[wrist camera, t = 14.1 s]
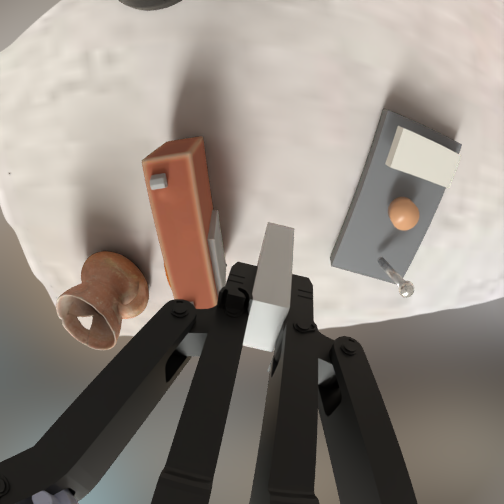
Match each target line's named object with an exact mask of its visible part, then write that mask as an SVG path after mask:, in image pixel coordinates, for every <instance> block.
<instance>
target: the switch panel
mask: <svg viewBox="0 0 504 504" xmlns="http://www.w3.org/2000/svg"><path fill="white" fill-rule="evenodd" d="M398 126H400V127H402V128H405V129H407V130H409V131H412V132H414V133H416V134H418V135H421V136H423V137H425V138H427V139H429V140H431V141H433V142H436V143H438V144H440V145H442V146H444V147H446V148H448V149H450V150H452V151H454V152H455V153H457V154H459V152H460V149H461V146H462V144H460V143H458V142H456V141H454V140H452V139H450V138H448V137H447V136H445V135H443V134H441V133H439V132H437V131H434V130H432V129H430V128H428V127H426V126H424V125H422V124H420V123H418V122H415V121H413V120H411V119H409V118H406V117H404V116H402V115H399V114H397V113H395V112H392V111H390V110H386V109H383V112H382V115H381V118H380V121H379V124H378V128H377V131H376V134H375V137H374V140H373V143H372V146H371V149H370V152H369V155H368V158H367V161H366V164H365V167H364V170H363V173H362V175H361V178H360V181H359V184H358V187H357V189H356V192H355V195H354V198H353V200H352V203H351V206H350V208H349V211H348V214H347V216H346V219H345V222H344V224H343V227H342V229H341V232H340V234H339V237H338V239H337V242H336V244H335V247H334V249H333V252H332V254H331V257H330V260H331V266H333V267H336V268H340V269H344V270H347V271H351V272H354V273H358V274H361V275H365V276H369V277H372V278H376V279H379V280H383V281H386V282H390V283H394V284H396V283H395V282H394V281H393V280H392V279H391V278H390V277H389V275H388V274H387V273H386V272H385V271H384V270H383V269H382V268H381V266H380V265H379V264H378V263H377V259H378V258H379V257H383V258H384V259H385V260H386V261H387V262H388V263H389V264H390V265H391V266H392V267H393V268H394V269H395V270H396V271H397V273H398V274H399V275H400V276H401V277H402V278H403V277H404V275H405V273H406V271H407V270H408V268H409V266H410V264H411V262H412V260H413V258H414V256H415V254H416V252H417V250H418V248H419V246H420V244H421V242H422V240H423V238H424V236H425V234H426V232H427V230H428V227H429V225H430V223H431V221H432V219H433V217H434V214H435V212H436V210H437V208H438V205H439V203H440V201H441V198H442V196H443V193H444V191H445V189H446V187H443V186H441V185H438V184H436V183H433V182H430V181H428V180H425V179H422V178H419V177H417V176H414V175H411V174H408V173H405V172H402V171H399V170H396V169H393V168H390V167H389V166H387V165H386V164H385V163H386V160H387V157H388V154H389V151H390V148H391V145H392V142H393V139H394V136H395V133H396V130H397V127H398ZM398 197H407V198H409V199H410V200H411V201H412V202H413V203H414V204H415V205H416V206H417V208H418V210H419V220H418V222H417V224H416V225H415V226H414V227H413V228H411V229H409V230H399V229H397V228H396V227H395V226H394V225H393V223H392V221H391V220H390V218H389V216H388V207H389V205H390V203H391V202H392V201H393V200H394V199H396V198H398Z"/></svg>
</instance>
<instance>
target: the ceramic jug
mask: <svg viewBox="0 0 504 504" xmlns="http://www.w3.org/2000/svg"><path fill="white" fill-rule="evenodd" d="M81 281H82V284H79V285H77V286H75V287H72V288H71V289H69V290H67V291H66V292H64V293H63V294H62V295H60V296H59V298H58V299H57V302H56V310H57V314H58V316H59V318H60V319H62V324H63V326H64V327H65V328H66V330H67V331H68V332H69V333H70V334H71V335H72V336H73V337H74V338H75V339H77V340H78V341H80V342H81V343H83V344H85V345H87V346H89V347H91V348H93V349H97V350H108V349H111V348H113V347H114V346H115V344H116V342H117V339H118V337H119V333H120V329H121V323H122V319H128V318H133V317H136V316H138V315H139V314H141V313H142V312H143V311H144V309H145V308H146V306H147V303H148V299H149V290H148V285H147V282H146V280H145V277H144V276H143V274H142V273H141V271H140V270H139V269H138V267H137V266H136V265H135V264H134V263H133V262H131V261H130V260H129V259H127V258H126V257H124V256H122V255H120V254H118V253H115V252H109V251H102V252H97V253H95V254H93V255H91V256H90V257H89V258H88V259H87V260H86V261H85V263H84V265H83V267H82V271H81ZM87 316H89V317H90V316H92V317H93V320H92V325H91V328H90V330H88V329H86V328H84V327H83V326H82V324H81V323H80V321H79V320H78V318H77V317H87Z"/></svg>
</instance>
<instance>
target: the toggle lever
mask: <svg viewBox="0 0 504 504" xmlns="http://www.w3.org/2000/svg"><path fill="white" fill-rule="evenodd" d="M377 263H378V264H379V265H380V266H381V268H382V269H383V270H384V271H385V272H386V273H387V274H388V275H389V277H390V278H391V279H392V280H393V281H394V282H395V283H396V284H397V286H398V287H399V293H400V295H401V296H403V297H410V296H411V295H412V294H413V293H414V285H413V284H412V283H411V282H410V281H405V280H404V279H403V278H402V277H401V276H400V275H399V274H398V273H397V271H396V270H395V269H394V268H393V267H392V266H391V265H390V264H389V263H388V262H387V261H386V260H385V259H384V258H383V257H379V258H378V259H377Z"/></svg>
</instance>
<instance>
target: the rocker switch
mask: <svg viewBox="0 0 504 504" xmlns="http://www.w3.org/2000/svg"><path fill="white" fill-rule="evenodd" d="M460 159H461V155H459V154H457V153H455V152H454V151H452V150H450V149H448V148H446V147H444V146H442V145H440V144H438V143H436V142H433V141H431V140H429V139H427V138H425V137H423V136H421V135H418V134H416V133H414V132H412V131H409V130H407V129H405V128H402V127H400V126H398V127H397V130H396V133H395V136H394V139H393V142H392V145H391V148H390V151H389V154H388V157H387V160H386V163H385V164H386V165H387V166H389V167H390V168H393V169H396V170H399V171H402V172H405V173H408V174H411V175H414V176H417V177H419V178H422V179H425V180H428V181H430V182H433V183H436V184H438V185H441V186H443V187H446V188H449V187H450V185H451V182H452V180H453V177H454V175H455V172H456V170H457V167H458V164H459V161H460Z"/></svg>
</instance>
